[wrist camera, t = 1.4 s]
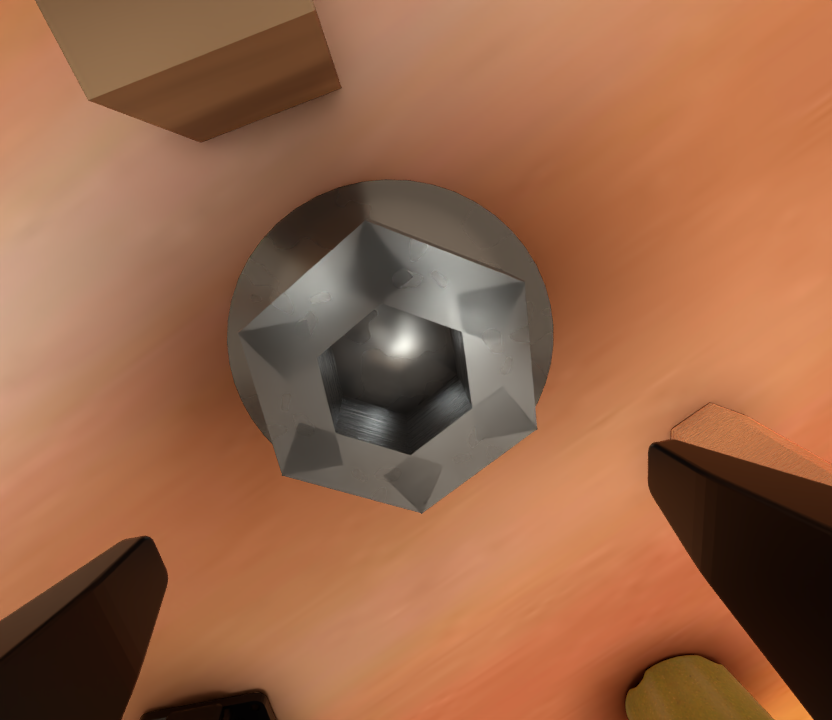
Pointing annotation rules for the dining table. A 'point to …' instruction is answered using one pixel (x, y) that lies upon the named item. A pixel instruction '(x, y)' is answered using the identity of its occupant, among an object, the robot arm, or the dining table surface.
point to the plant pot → (691, 693)
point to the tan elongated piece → (750, 442)
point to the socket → (390, 341)
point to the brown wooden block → (194, 58)
